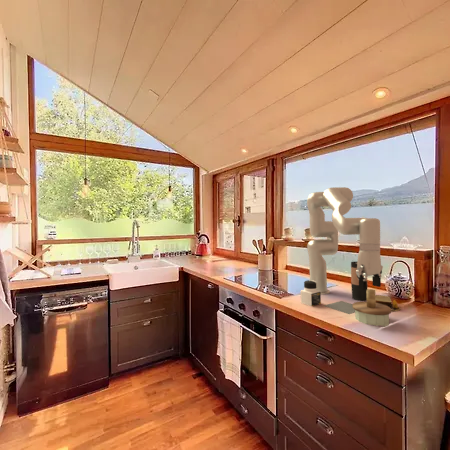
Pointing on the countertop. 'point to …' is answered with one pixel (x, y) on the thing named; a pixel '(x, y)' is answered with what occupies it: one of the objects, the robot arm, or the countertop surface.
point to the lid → (371, 305)
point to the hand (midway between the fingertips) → (369, 288)
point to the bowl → (372, 319)
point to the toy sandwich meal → (387, 302)
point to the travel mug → (357, 285)
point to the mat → (342, 307)
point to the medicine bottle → (310, 294)
